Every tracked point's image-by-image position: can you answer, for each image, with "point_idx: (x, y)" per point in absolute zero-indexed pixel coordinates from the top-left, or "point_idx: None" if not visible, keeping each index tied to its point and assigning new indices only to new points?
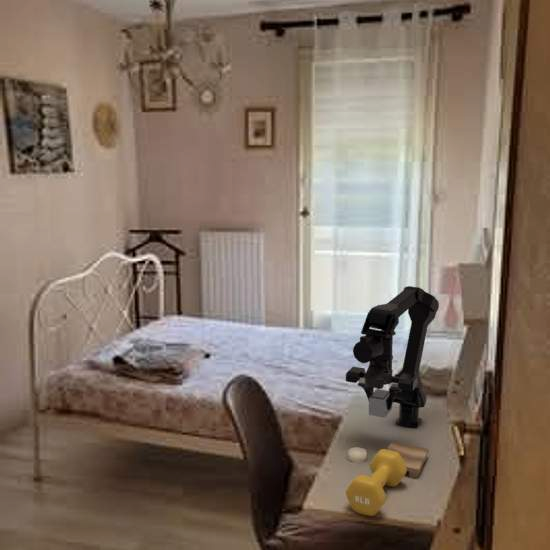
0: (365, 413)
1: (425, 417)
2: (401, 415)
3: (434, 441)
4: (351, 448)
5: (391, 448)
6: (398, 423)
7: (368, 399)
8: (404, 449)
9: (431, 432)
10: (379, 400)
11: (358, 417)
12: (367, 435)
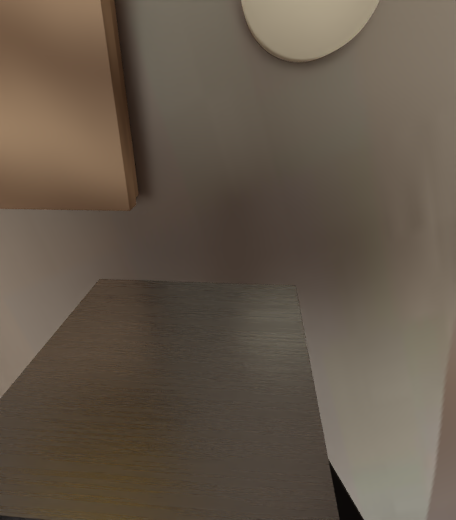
0: (364, 481)
1: None
2: None
3: (22, 351)
4: (370, 9)
5: (93, 119)
6: None
7: (355, 516)
8: (17, 141)
9: None
10: (72, 485)
11: (389, 448)
12: (312, 312)
